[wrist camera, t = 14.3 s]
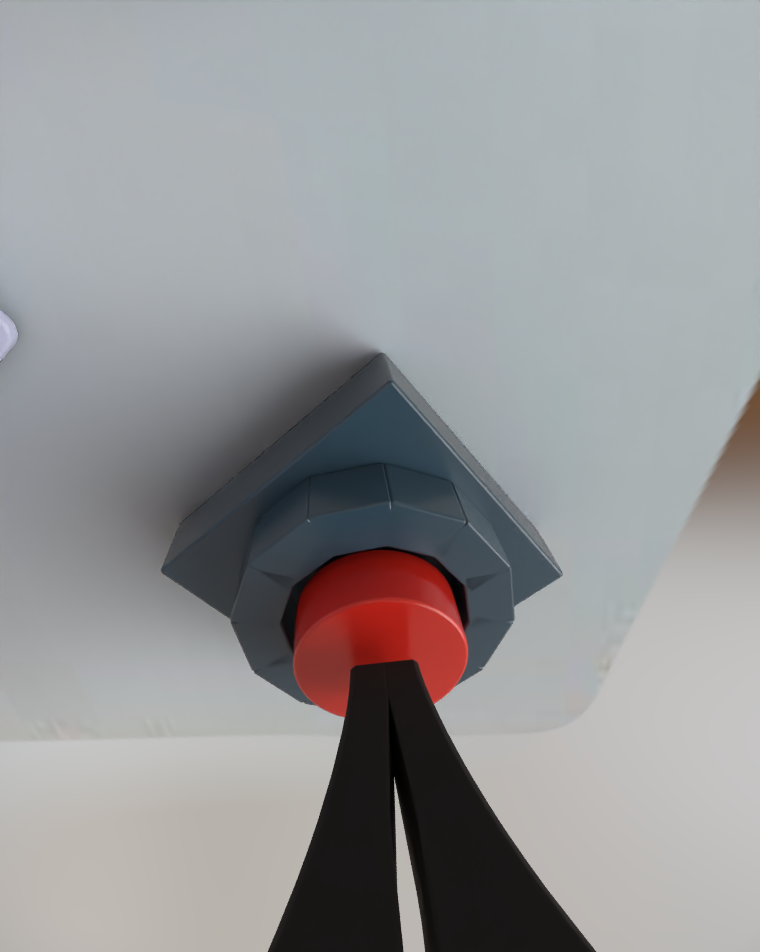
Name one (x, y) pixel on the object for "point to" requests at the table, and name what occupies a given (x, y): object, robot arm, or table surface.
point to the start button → (376, 625)
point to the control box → (359, 522)
